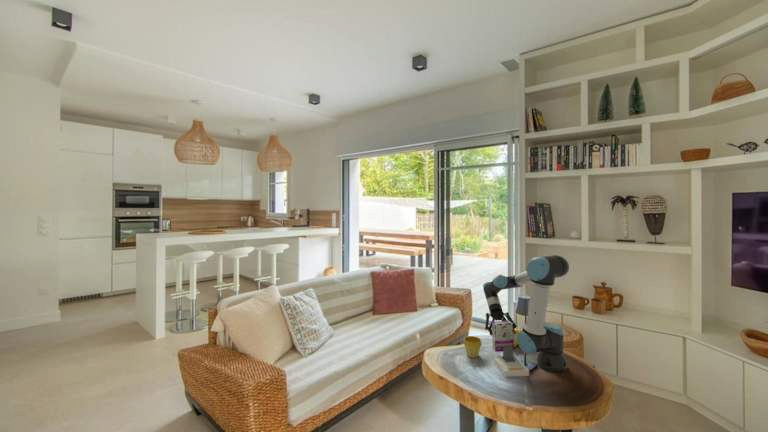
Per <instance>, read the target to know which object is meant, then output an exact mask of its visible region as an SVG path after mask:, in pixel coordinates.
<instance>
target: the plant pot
mask: <svg viewBox="0 0 768 432" xmlns="http://www.w3.org/2000/svg"><path fill="white" fill-rule="evenodd" d="M463 345H464V347H465V352H466V355H467V356H468V357H469V358H474V359H475V358H478V357H479V355H480V350H481V347H482V339H481V338H480V337H478V336H473V335H469V336H465V337H464V338H463Z"/></svg>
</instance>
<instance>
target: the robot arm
mask: <svg viewBox="0 0 768 432" xmlns="http://www.w3.org/2000/svg"><path fill="white" fill-rule="evenodd" d="M525 269H526V270H525V271H522V272H520V273H516V274H514V275H510V276H505V275H502V274H498V275H496V276H495V277H493V279H492V281H487V282H485V283H483V285H482V288H483V293H484V296H485V299H486V303H487V306H488V310H489V312H487V313H485V327H484V329H485V330H486V331H488V332H489V336H491V338H493V342H495V340H496V338H495V335H494V331H493V329H492V322H496V321H510V322H512V323H513V341H515V340H516V337H515V334H516V333H515V330H514V329H515V328H518V326H517V324H516V323H515V322H514V320H513V319H512V317H511V316H510V314H509V312H504V311H503V308H502V305H501V302H500V298H499V295H498V294H499V293H500V292H501V291H502V290H510V289H516V288H521V287H523V286H526V285H529V284H531V290H530V297H529V304H528V309H527V310H528V311H527V318H526V322H525V323H524V324H523V325H522V329H521V330H522V331H520V332H519V333H518V334H517V342H518V346H519V348H520V350H522V351H523V352H524V353H525V354H527V355H528V354H529V355H531V354H537V353H538V354H537V357H536V364H537V366H538V367H539V368H540V369H543V370H545V371H548V372H552V373H563V372H566V371H567V368H568V365H567V363H568V362H567V361H566V358H565V355H564V329H563V328H562V327H561V326H559V325H556V324H554V323H550V322H545V321H546V316H547V309H548V303H549V302H548V301H549V296H550V292H551V291H550V289H551V287H552V286H554V285H555V280H556V279H557V278H561V277H564V276H566V275H567V274H568V272H569V270H570V265H569V262H568V260H567V259H566V258H564V256H561V255H556V254H555V255H547V256H537V257H533V258H531V259H530V260H529V261H528V262H527V264H526V268H525ZM532 298H533V299H532ZM535 312H536V314H535ZM490 317H491V318H492V320H491V321H490ZM489 321H490V324H489Z"/></svg>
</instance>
